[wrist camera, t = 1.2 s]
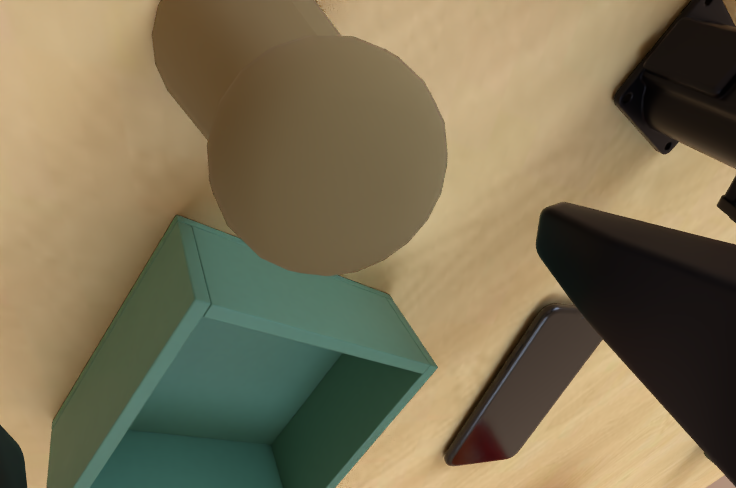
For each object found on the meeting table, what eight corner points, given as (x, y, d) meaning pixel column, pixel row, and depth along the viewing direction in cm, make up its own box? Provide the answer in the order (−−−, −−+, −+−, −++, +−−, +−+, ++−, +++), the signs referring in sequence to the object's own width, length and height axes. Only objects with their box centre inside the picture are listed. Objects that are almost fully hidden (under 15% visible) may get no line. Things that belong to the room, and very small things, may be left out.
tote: (389, 294, 28) (438, 367, 24) (272, 445, 31) (298, 532, 27) (176, 213, 21) (194, 299, 17) (51, 422, 24) (41, 536, 20)
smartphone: (508, 450, 45) (615, 305, 38) (514, 459, 44) (624, 313, 37) (436, 459, 40) (542, 299, 34) (442, 469, 40) (551, 307, 33)
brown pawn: (279, 154, 21) (393, 338, 13) (123, 89, 18) (143, 286, 9) (354, 14, 19) (544, 126, 11) (197, -90, 16) (303, -42, 7)
